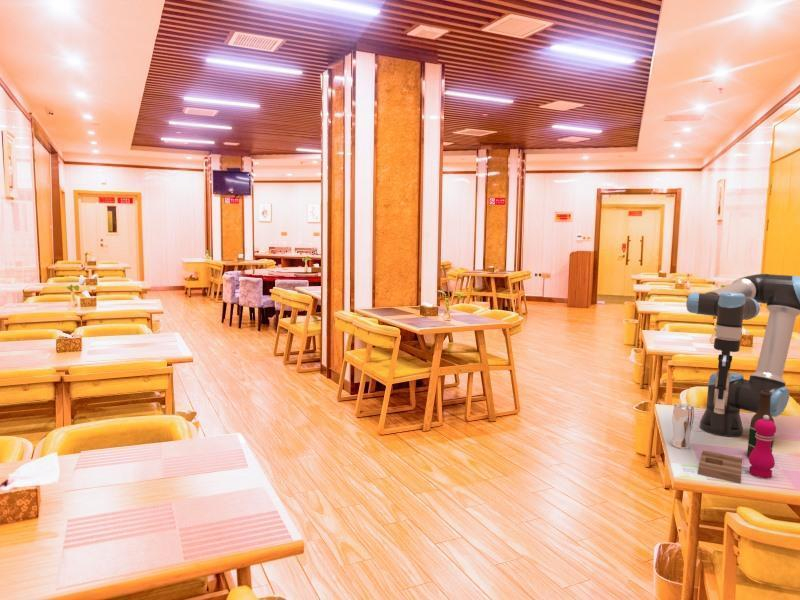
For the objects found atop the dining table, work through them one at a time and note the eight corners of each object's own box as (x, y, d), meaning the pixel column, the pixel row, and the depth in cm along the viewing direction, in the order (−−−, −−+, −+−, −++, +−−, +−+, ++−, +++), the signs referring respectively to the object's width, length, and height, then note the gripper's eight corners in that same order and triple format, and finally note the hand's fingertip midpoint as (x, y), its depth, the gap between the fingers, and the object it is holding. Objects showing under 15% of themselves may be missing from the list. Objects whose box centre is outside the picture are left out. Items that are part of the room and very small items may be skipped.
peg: (712, 410, 200) (717, 370, 199) (726, 412, 198) (730, 372, 196) (711, 412, 197) (716, 372, 195) (725, 415, 194) (730, 374, 193)
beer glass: (665, 442, 217) (669, 403, 215) (682, 441, 218) (685, 403, 216) (678, 449, 210) (682, 409, 208) (695, 448, 211) (698, 408, 210)
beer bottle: (766, 454, 207) (773, 389, 204) (775, 463, 200) (783, 395, 197) (742, 452, 209) (749, 387, 206) (750, 461, 201) (758, 393, 198)
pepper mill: (777, 479, 186) (783, 419, 184) (752, 477, 188) (758, 417, 185) (767, 470, 194) (774, 412, 191) (744, 468, 195) (750, 410, 192)
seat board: (702, 457, 204) (702, 450, 204) (741, 465, 198) (742, 457, 197) (697, 473, 190) (698, 466, 189) (740, 483, 183) (741, 475, 183)
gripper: (716, 334, 204) (709, 399, 206) (712, 340, 189) (705, 410, 192) (741, 337, 200) (733, 403, 202) (739, 343, 185) (731, 414, 188)
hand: (719, 406), depth 197 cm, fingers closed on peg, 4 cm apart
